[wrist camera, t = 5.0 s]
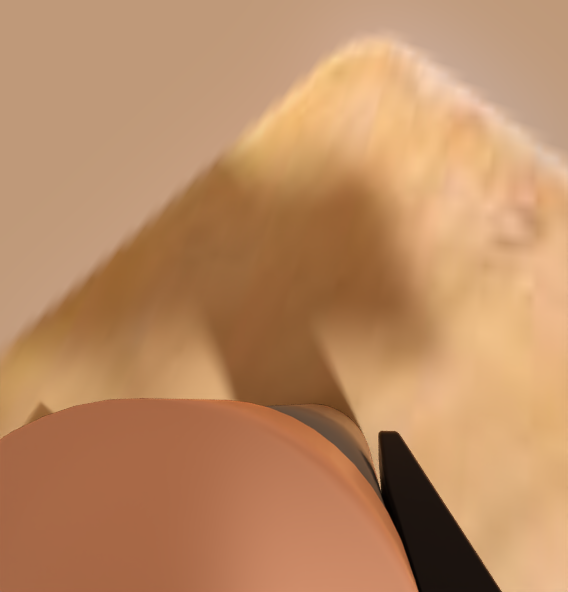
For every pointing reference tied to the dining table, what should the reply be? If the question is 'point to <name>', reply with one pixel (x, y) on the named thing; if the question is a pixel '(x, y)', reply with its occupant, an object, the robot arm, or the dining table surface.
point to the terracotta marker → (195, 501)
